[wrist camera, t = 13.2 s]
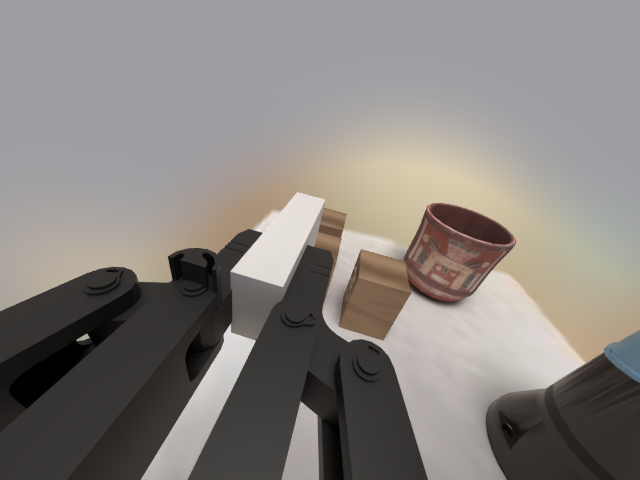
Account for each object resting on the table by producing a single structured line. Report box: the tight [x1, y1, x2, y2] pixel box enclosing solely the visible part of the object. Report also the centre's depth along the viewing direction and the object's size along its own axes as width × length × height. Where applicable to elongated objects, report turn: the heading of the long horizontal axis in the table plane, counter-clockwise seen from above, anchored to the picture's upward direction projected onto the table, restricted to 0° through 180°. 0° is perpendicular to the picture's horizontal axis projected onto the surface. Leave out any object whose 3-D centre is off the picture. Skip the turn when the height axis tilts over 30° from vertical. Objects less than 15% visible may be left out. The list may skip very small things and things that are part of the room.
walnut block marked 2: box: [339, 249, 411, 340], centre depth 41 cm, size 8×8×12 cm
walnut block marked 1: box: [318, 208, 346, 238], centre depth 52 cm, size 8×8×12 cm
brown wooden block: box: [314, 232, 341, 304], centre depth 43 cm, size 8×8×12 cm
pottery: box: [404, 203, 516, 301], centre depth 52 cm, size 18×18×18 cm
